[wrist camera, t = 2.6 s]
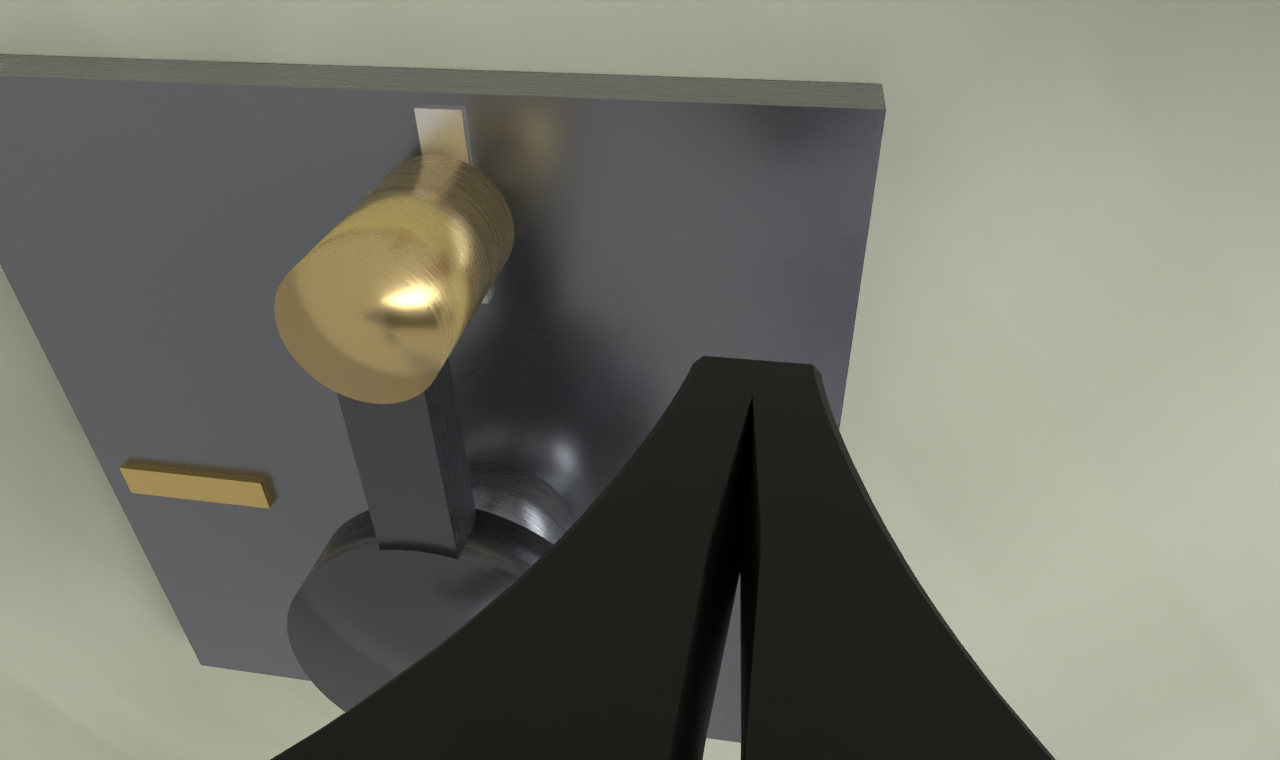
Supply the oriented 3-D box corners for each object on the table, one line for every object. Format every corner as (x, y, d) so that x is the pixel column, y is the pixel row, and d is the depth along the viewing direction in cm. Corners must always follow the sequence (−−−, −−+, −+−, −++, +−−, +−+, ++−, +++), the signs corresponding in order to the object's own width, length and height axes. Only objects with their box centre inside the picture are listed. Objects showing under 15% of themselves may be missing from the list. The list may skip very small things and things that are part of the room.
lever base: (881, 84, 14) (895, 172, 11) (793, 710, 24) (789, 841, 21) (-43, 52, 17) (-223, 118, 14) (223, 631, 27) (151, 739, 24)
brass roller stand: (634, 640, 21) (604, 781, 18) (392, 608, 22) (327, 739, 19) (617, 163, 14) (564, 271, 11) (262, 145, 15) (130, 242, 12)
